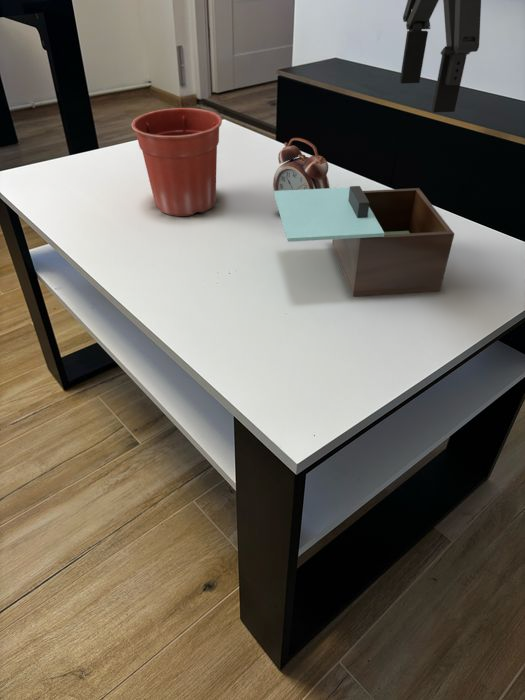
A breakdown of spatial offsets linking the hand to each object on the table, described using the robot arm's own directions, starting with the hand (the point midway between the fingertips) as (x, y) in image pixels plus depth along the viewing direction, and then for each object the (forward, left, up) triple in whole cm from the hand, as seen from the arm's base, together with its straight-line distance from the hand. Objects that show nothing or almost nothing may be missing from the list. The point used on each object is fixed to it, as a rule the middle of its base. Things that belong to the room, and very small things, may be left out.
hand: (424, 96), depth 73 cm
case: (0, +2, -27) cm, 27 cm away
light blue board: (0, +13, -17) cm, 21 cm away
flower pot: (+28, +35, -27) cm, 52 cm away
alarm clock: (+19, +13, -27) cm, 35 cm away
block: (0, 0, -26) cm, 26 cm away
